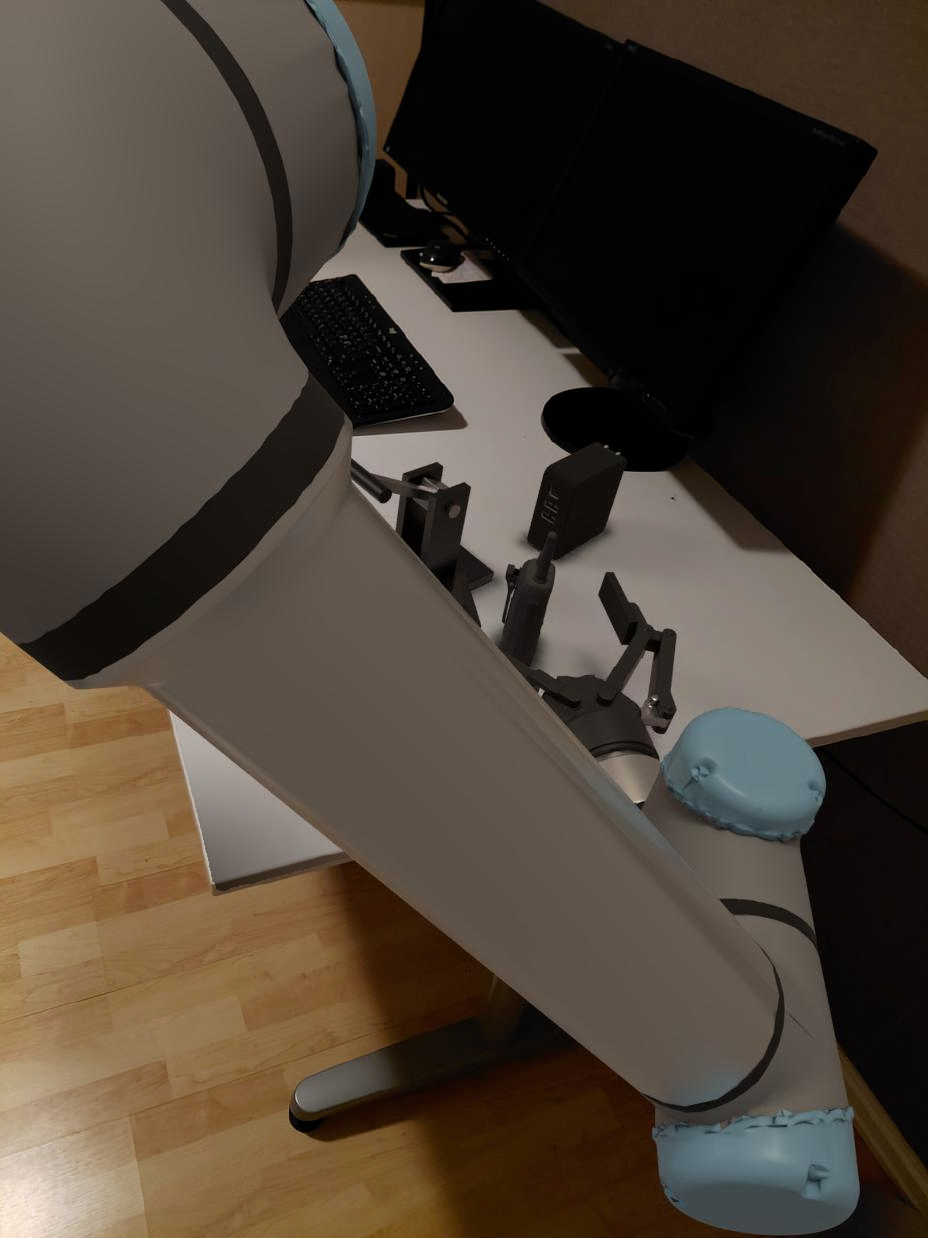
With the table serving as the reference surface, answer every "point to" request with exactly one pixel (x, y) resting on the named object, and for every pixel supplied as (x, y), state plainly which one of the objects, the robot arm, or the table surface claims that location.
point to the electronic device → (576, 497)
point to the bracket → (440, 530)
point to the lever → (394, 486)
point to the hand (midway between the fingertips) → (533, 583)
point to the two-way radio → (527, 602)
